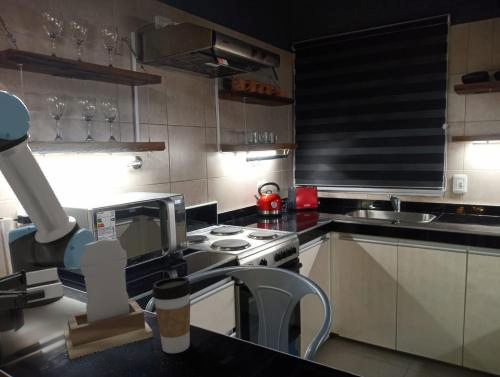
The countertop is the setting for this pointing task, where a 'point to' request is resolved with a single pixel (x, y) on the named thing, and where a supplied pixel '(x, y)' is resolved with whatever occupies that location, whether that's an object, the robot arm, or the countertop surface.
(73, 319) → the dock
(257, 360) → the countertop surface
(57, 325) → the countertop surface
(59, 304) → the countertop surface
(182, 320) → the coffee cup
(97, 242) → the tall pale column
